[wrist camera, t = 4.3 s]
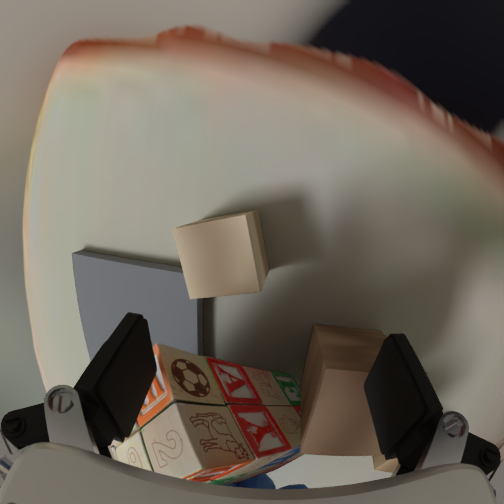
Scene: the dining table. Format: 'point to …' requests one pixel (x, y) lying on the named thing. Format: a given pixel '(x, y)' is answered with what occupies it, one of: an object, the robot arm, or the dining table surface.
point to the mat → (136, 300)
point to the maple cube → (223, 255)
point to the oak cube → (384, 463)
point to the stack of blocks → (213, 420)
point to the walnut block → (338, 392)
